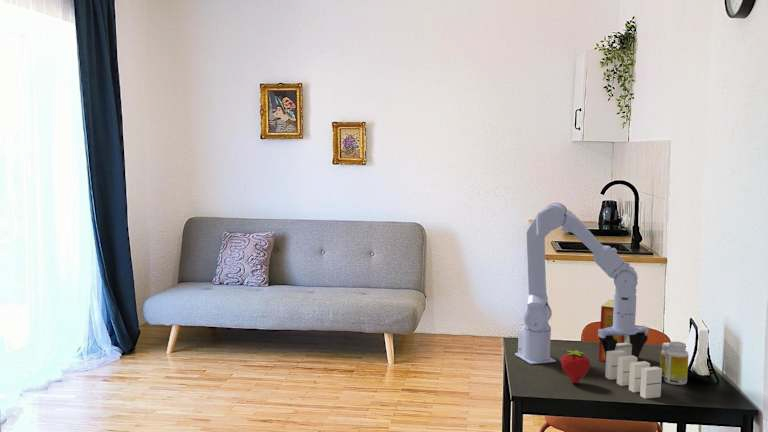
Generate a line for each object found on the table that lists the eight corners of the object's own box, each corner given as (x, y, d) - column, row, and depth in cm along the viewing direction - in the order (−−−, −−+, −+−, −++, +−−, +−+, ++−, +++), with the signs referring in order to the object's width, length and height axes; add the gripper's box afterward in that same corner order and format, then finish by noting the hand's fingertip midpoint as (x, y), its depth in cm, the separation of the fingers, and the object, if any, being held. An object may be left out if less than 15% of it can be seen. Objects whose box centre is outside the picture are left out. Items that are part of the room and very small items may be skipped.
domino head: (612, 368, 209) (613, 343, 208) (626, 367, 211) (627, 342, 210) (616, 371, 207) (618, 345, 206) (630, 369, 209) (632, 344, 208)
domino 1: (605, 377, 202) (606, 351, 201) (619, 375, 203) (620, 349, 203) (609, 379, 200) (611, 353, 199) (624, 378, 202) (625, 352, 201)
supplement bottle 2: (691, 384, 198) (694, 345, 196) (675, 387, 195) (678, 347, 194) (674, 377, 203) (677, 339, 201) (659, 380, 200) (661, 341, 199)
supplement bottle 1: (679, 379, 201) (681, 347, 200) (660, 377, 202) (662, 346, 201) (676, 373, 206) (678, 342, 205) (658, 371, 207) (659, 341, 206)
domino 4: (640, 395, 188) (641, 368, 188) (655, 394, 190) (656, 366, 189) (645, 398, 187) (646, 370, 186) (660, 396, 188) (662, 368, 187)
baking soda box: (606, 352, 224) (608, 298, 222) (629, 355, 221) (632, 301, 219) (598, 361, 216) (601, 304, 214) (622, 364, 213) (625, 307, 211)
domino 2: (616, 383, 197) (617, 356, 197) (631, 381, 199) (632, 355, 198) (621, 385, 195) (622, 359, 195) (636, 384, 197) (637, 357, 196)
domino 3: (628, 389, 193) (630, 362, 192) (643, 388, 194) (645, 361, 193) (633, 392, 191) (635, 364, 190) (648, 390, 192) (650, 363, 191)
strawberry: (583, 389, 192) (585, 350, 191) (555, 383, 197) (557, 344, 196) (593, 383, 197) (595, 345, 196) (565, 377, 201) (567, 339, 200)
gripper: (610, 317, 201) (607, 368, 203) (656, 313, 206) (654, 363, 207) (594, 311, 208) (592, 360, 209) (640, 307, 212) (637, 355, 214)
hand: (622, 361), depth 209 cm, fingers open, 7 cm apart
